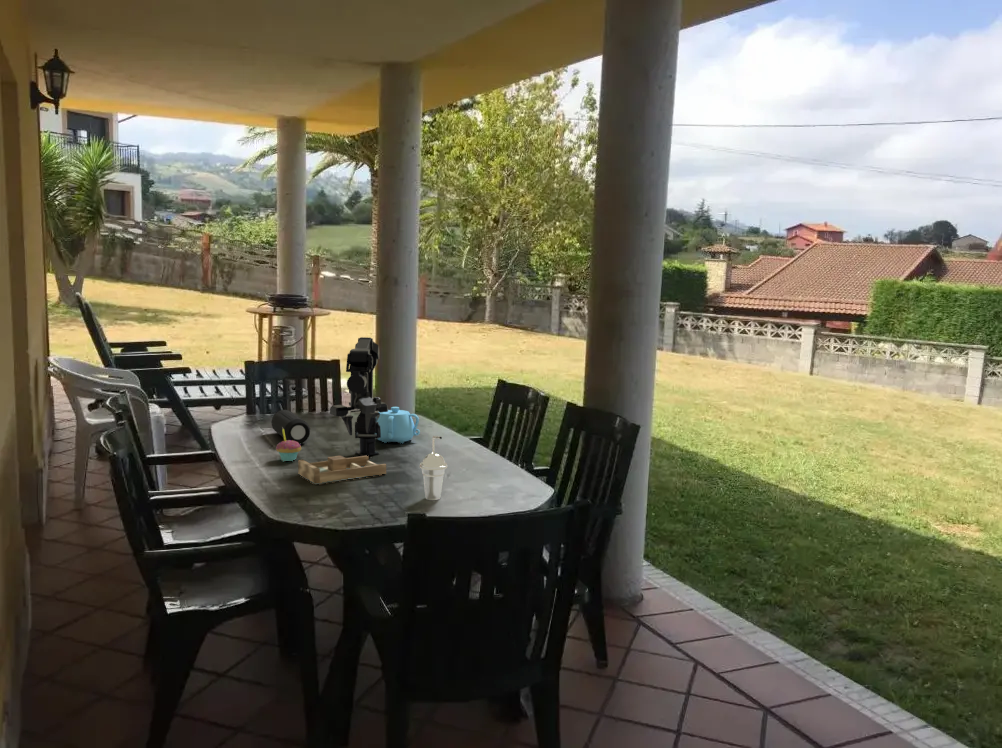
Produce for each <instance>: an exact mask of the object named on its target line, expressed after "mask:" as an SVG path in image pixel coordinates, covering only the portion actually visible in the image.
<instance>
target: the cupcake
mask: <svg viewBox="0 0 1002 748" xmlns="http://www.w3.org/2000/svg"><path fill="white" fill-rule="evenodd" d="M282 428H283V427H282ZM282 431H283V437H284V438H283V437H282V438H283V440H282V441H280V442H279V443H278V444H276V447H275V449H276V452H277V453H278V454H279V456H280V459H281V461H282V460H283V461H282V462H284V461H292V462H294V461H293V460H295V459H296V460H297V456H298V454H299V452H301V451H302V446H301V445H302V443H301V444H299V443H298V442H296V441H291V440H286V437H285V431H284V429H282ZM296 460H295V461H296Z"/></svg>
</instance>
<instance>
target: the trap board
mask: <svg viewBox="0 0 1002 748" xmlns="http://www.w3.org/2000/svg"><path fill="white" fill-rule="evenodd" d="M369 456H370V455H368V456H362V455H360V456H354V457H353V456H352V457H345V458H346V468H350V469H343V470H336V471H331V470H329V469H328V460H323V461H314V462H308V461H306V460H305V459H298V461H297V463H298V464H297V465H298V466H297V467H298V468H297V472H298V473H297V474H300V475H301V476H303V477H305V478H307V479H309V480H310V481H312V482H314V483H322V482H327V481H333V480H341V479H348V478H356V477H364V476H373V475H379V476H383V475H382V474H386V475H387V464H386V463H380V464H377V463H375V462H373V461H371V460H369V459H370V458H369ZM365 465H366V466H365ZM361 466H364V467H361ZM301 476H300V477H301ZM303 477H302V478H303ZM373 477H374V476H373Z"/></svg>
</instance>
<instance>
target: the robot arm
mask: <svg viewBox="0 0 1002 748" xmlns="http://www.w3.org/2000/svg"><path fill="white" fill-rule="evenodd" d="M354 345H355V346H354V348H351V350H349V352H348V353H347V355H346V364H345V365H346V367H345V372H346V373H350V376H349V377H348V378H347V380H346V387H347V389H348V394H350V402H348V406H346V405H343V404H336V405H334V404H333V405H331V406H330V407H329V414H330V415H332V416H334V417H340V418H341V419H342V421H343V423H344V425H345V427H346V430H347V431H348V432H347V433H348V434H349V435H348V436H352V435H353V422H352V421H353V418H354V416H353V415H352V414H351V413H356V412H357V413H358V412H360V413H359V414H358V416H357V417H356V421H355V422H354V438H355V439H359V450H356V451H355V453H356V454H358V455H360V456H367V455H368V456H374V455H380V452H378V451H376V440H378V438H381V429H380V425H379V422H377V420H378V417H377V416H380V413H382V412H388V410H389V406H388V404H387V402H383V401H382V399H381V398H380V396H378V397H374V370H375V369H376V367H377V364H378V363H379V362H378V360H380V346H379V344H377V343H376V342H375V341H374V339H373V338H371V337H366V336H365V337H363V336H362V337H358V339H357V342H356V343H355V344H354ZM378 412H380V413H378ZM375 433H377V434H375Z"/></svg>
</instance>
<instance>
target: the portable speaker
mask: <svg viewBox="0 0 1002 748" xmlns="http://www.w3.org/2000/svg"><path fill="white" fill-rule="evenodd" d="M282 427H283V428H282ZM271 428H272V429H273V430H274V431H275V432H276V433H277V434H278V435H280V436H281V437H282V438H283V439H284V437H283V431H282V429H284V431H285V437H286V441H287V440H291V441H296V442H298V443H299V444H300V443H301V444H303V443H305V442H306V441H307V440H308V439H309V437H310V433H311V428H310V425H309V423H308V422H307V421H306V420H304V419H302V418H301V417H299V416H298V415H296V414H294V413H293V412H292V411H291V410H288V409H282V410H278V411H277V412H275V414H274V415H273V416H272V418H271Z"/></svg>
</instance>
